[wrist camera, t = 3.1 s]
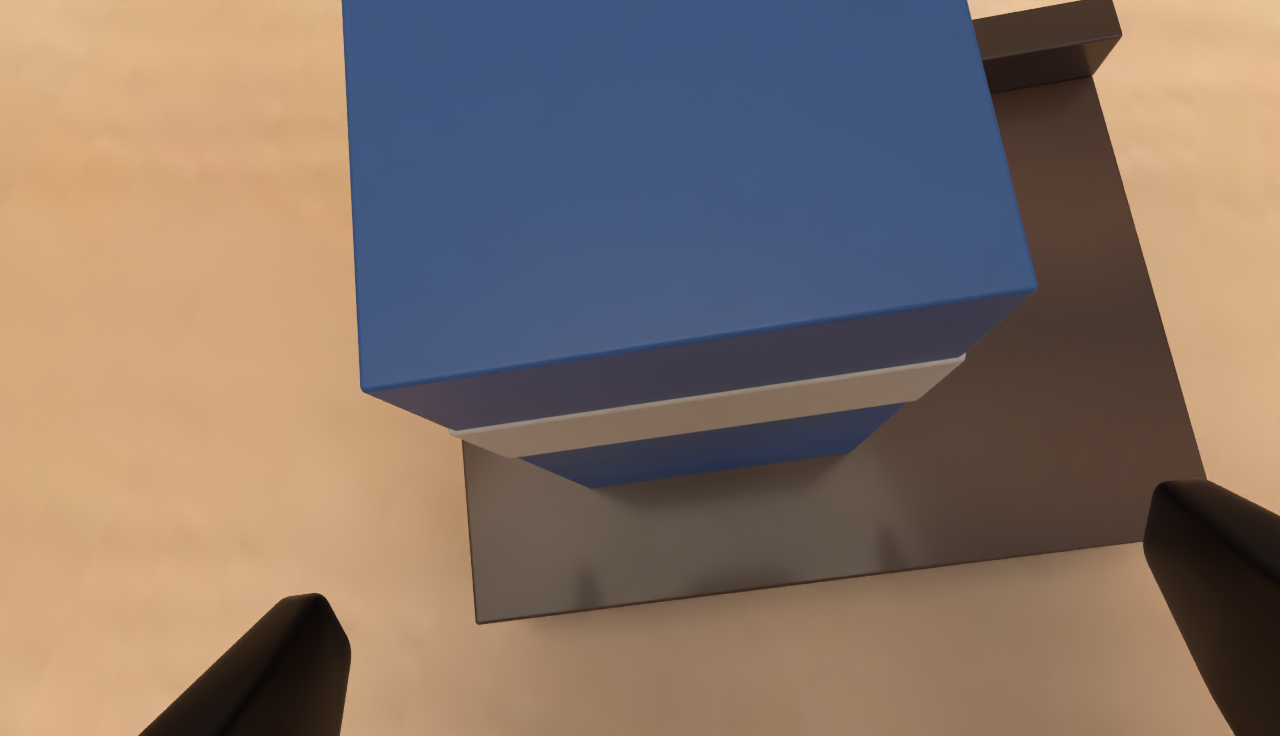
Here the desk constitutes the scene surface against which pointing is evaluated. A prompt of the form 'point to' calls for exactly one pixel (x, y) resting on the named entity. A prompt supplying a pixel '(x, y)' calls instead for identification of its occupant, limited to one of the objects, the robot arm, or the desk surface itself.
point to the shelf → (910, 409)
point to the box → (672, 222)
